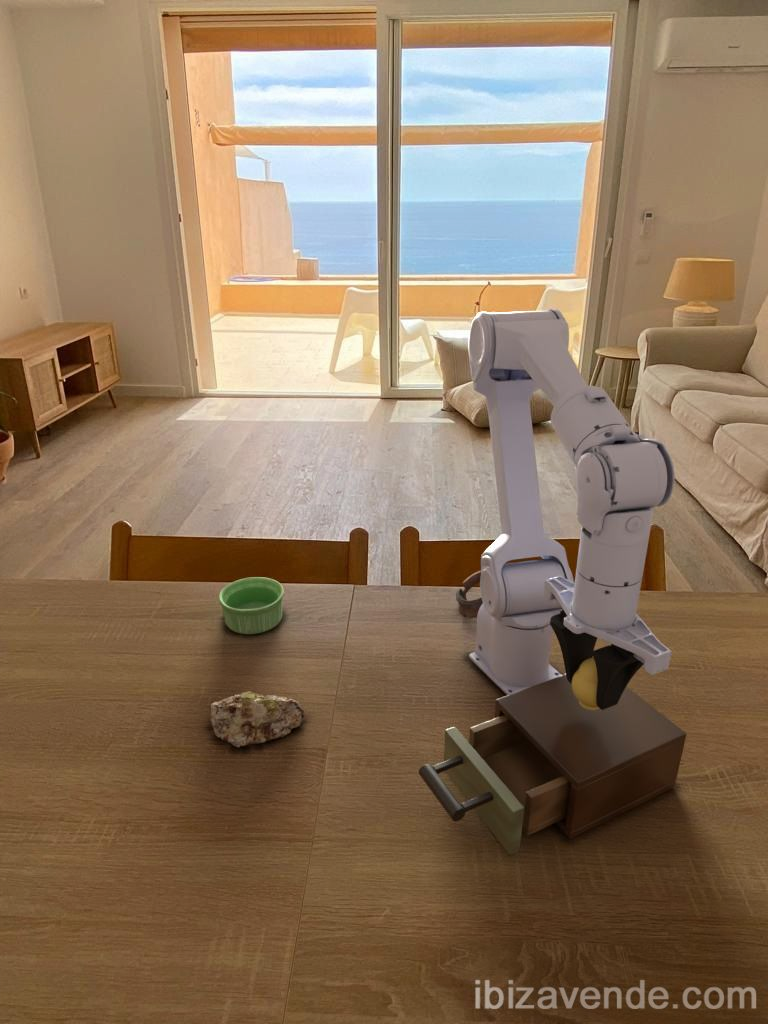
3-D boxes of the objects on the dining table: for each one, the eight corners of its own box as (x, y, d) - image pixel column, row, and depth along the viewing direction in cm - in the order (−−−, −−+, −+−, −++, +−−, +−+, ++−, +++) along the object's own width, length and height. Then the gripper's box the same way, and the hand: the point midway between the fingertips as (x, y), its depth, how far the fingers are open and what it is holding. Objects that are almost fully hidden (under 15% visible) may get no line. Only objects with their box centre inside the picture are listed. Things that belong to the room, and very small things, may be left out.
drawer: (466, 875, 60) (469, 832, 58) (404, 785, 70) (404, 744, 67) (614, 804, 67) (622, 762, 65) (540, 730, 77) (544, 692, 74)
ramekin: (263, 595, 104) (260, 570, 103) (298, 620, 98) (296, 593, 96) (210, 618, 99) (206, 592, 97) (244, 645, 93) (241, 618, 91)
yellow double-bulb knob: (588, 721, 66) (594, 678, 64) (561, 697, 70) (566, 655, 68) (620, 708, 68) (627, 666, 66) (591, 685, 71) (597, 644, 69)
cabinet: (569, 839, 65) (577, 782, 62) (491, 751, 75) (495, 699, 72) (674, 787, 70) (687, 733, 67) (588, 712, 80) (596, 662, 78)
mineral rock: (200, 738, 74) (212, 675, 80) (205, 759, 77) (217, 697, 83) (302, 737, 74) (306, 675, 80) (303, 759, 77) (307, 697, 83)
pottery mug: (526, 647, 93) (498, 603, 90) (467, 653, 99) (439, 611, 96) (547, 586, 101) (522, 543, 98) (492, 595, 107) (466, 555, 104)
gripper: (523, 547, 67) (514, 662, 73) (635, 622, 55) (613, 753, 61) (580, 532, 70) (567, 644, 75) (698, 600, 58) (671, 727, 64)
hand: (591, 691), depth 68 cm, fingers closed on yellow double-bulb knob, 4 cm apart
